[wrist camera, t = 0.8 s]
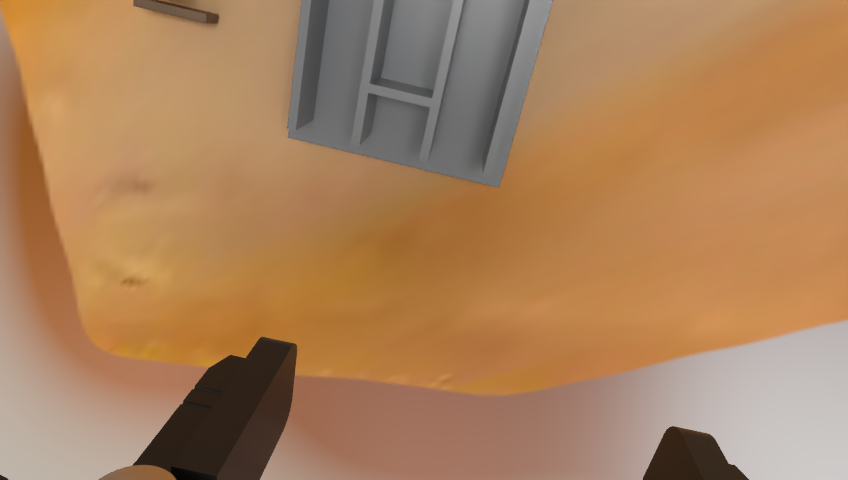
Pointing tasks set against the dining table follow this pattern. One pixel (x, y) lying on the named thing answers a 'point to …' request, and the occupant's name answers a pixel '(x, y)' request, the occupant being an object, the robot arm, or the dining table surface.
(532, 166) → the dining table surface
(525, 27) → the rack
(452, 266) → the dining table surface
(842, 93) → the dining table surface
